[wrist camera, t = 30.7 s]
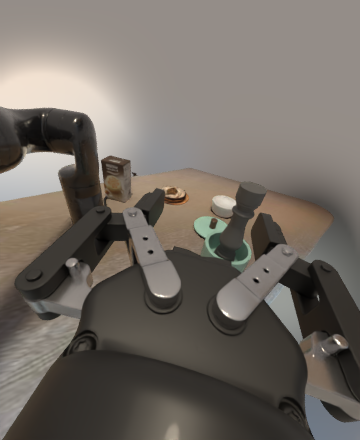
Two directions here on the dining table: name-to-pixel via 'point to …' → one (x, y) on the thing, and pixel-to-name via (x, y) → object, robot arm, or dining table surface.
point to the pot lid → (208, 225)
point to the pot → (241, 254)
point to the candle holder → (240, 219)
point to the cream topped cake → (174, 195)
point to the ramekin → (223, 206)
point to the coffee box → (117, 178)
